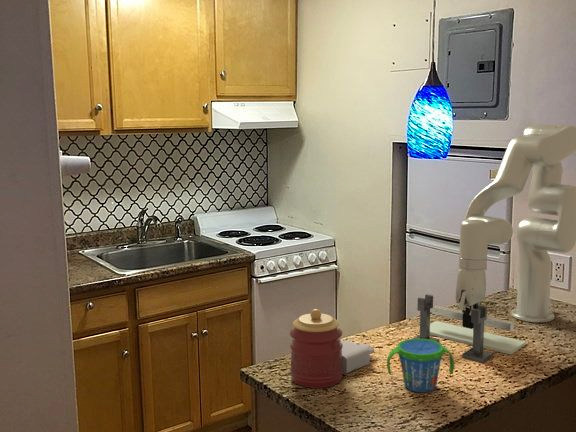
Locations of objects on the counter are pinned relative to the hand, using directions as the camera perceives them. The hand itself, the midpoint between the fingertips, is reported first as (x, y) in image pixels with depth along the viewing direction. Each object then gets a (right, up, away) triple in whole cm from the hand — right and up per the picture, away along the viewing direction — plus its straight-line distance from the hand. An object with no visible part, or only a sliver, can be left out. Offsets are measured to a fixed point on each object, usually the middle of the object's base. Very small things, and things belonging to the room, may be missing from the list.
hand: (470, 325), depth 181 cm
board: (0, -4, +1) cm, 4 cm away
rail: (0, +1, 0) cm, 1 cm away
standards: (-8, -5, -8) cm, 12 cm away
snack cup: (-21, -9, -31) cm, 38 cm away
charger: (-35, -7, -15) cm, 39 cm away
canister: (-45, -9, -25) cm, 52 cm away
